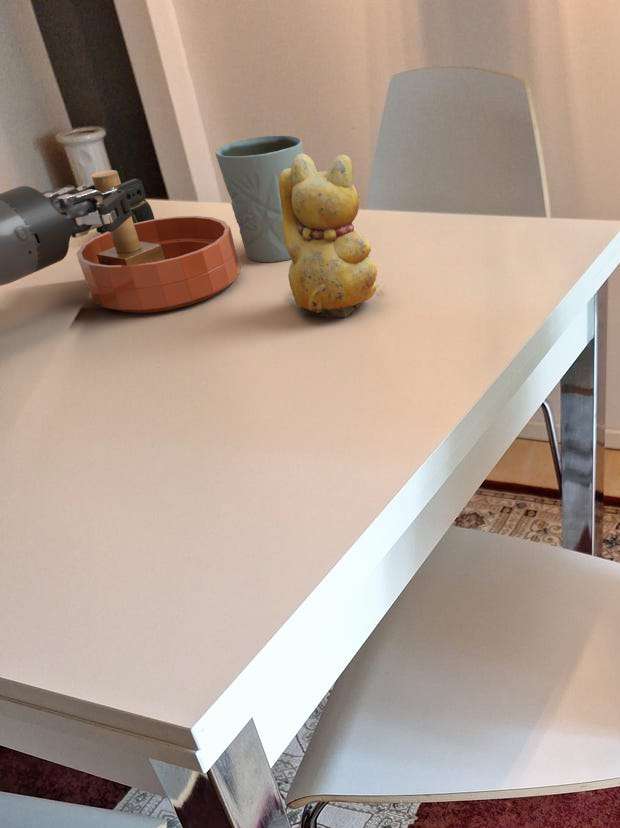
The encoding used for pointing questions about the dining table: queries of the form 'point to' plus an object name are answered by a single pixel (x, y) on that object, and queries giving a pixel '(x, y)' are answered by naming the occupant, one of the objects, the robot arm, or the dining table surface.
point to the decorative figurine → (325, 238)
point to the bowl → (164, 266)
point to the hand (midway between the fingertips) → (130, 187)
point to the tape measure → (137, 214)
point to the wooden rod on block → (124, 234)
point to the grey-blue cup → (258, 191)
